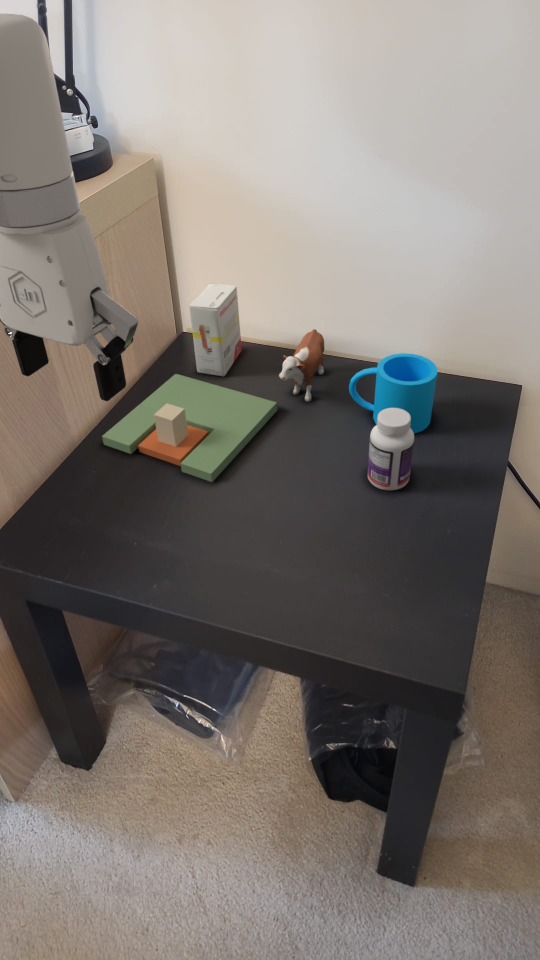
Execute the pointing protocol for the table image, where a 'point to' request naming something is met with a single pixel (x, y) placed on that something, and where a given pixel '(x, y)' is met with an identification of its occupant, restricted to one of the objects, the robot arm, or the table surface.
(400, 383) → the mug
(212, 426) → the green mat
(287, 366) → the bull figurine
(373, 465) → the pill bottle
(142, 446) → the terracotta pad
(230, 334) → the ink box
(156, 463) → the table surface
